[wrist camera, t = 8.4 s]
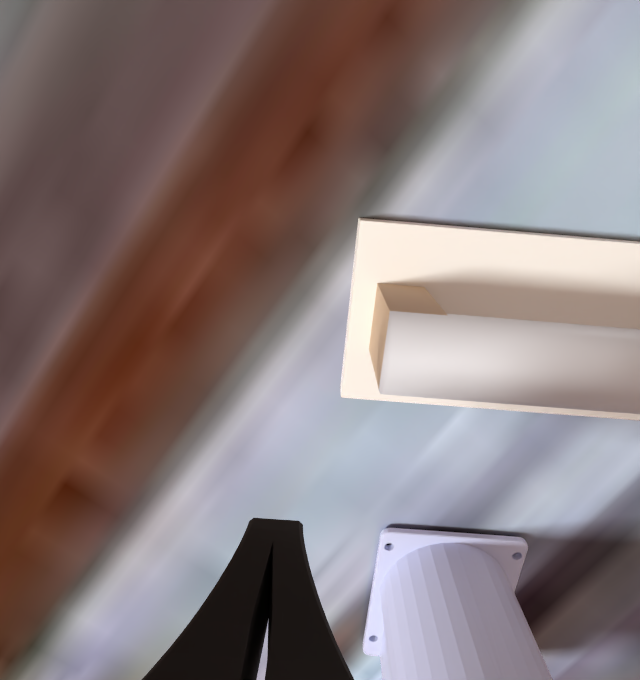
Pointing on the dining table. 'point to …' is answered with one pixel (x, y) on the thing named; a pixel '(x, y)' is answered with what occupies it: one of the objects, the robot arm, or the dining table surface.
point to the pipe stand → (494, 320)
